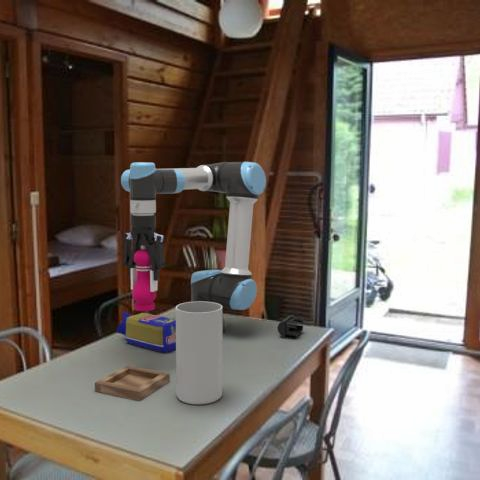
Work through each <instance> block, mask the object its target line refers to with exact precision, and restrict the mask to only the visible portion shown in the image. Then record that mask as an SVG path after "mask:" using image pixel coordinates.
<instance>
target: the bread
mask: <svg viewBox="0 0 480 480" xmlns="http://www.w3.org/2000/svg"><path fill="white" fill-rule="evenodd" d="M116 333H117V334H120V335H123V336H125V340H126V342H127V344H129V345H134V346H137V347H141V348H144V349H148V350H152V351H156V352H158V353H159V352H160V353H163V354H166V353H169V352H171V351H176V318H175V319H174V318H170V317H167V316H163V315H157V314H151V313H146V312H140V313H138V314H135V315H134V314H133V315H131V314H130V313H128V312H127V311H123V313H122V320H121V322H120V323H119V325H118V326H117V328H116Z"/></svg>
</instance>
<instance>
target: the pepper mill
mask: <svg viewBox="0 0 480 480" xmlns="http://www.w3.org/2000/svg"><path fill="white" fill-rule="evenodd" d="M134 261H135V263H136V266H135V267H136V270H137V280H136V284H135V286H134V289H133V290H132V294H131V297H132V299H133V301H135V302H134V303H133V310H135V311H137V312H151V311H153V310H156V309H155V307H156V306H155V305H156V303H155V302H154V301H155V300H156V298H157V291H154V292H150V270H151V269H152V265H151V262H150V259H149V255H148V252H147V249H146V248H145V246H144V245H141V248H140V250H138V251H136V252H135V254H134Z"/></svg>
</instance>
